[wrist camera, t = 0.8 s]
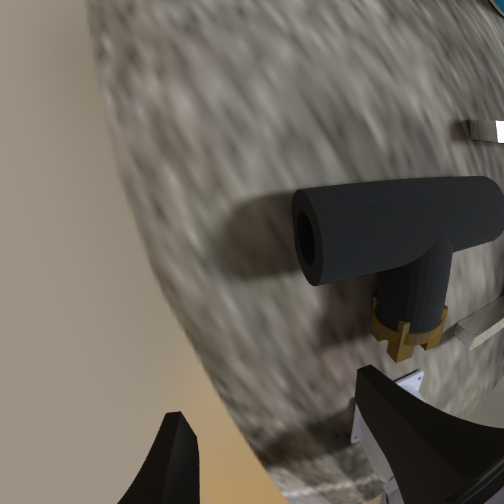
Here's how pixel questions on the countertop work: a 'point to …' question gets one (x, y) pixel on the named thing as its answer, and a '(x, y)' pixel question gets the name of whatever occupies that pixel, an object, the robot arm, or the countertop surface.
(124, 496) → the robot arm
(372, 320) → the pipe connector
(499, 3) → the beverage bottle
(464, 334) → the aluminium bracket
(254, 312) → the countertop surface
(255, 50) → the countertop surface
